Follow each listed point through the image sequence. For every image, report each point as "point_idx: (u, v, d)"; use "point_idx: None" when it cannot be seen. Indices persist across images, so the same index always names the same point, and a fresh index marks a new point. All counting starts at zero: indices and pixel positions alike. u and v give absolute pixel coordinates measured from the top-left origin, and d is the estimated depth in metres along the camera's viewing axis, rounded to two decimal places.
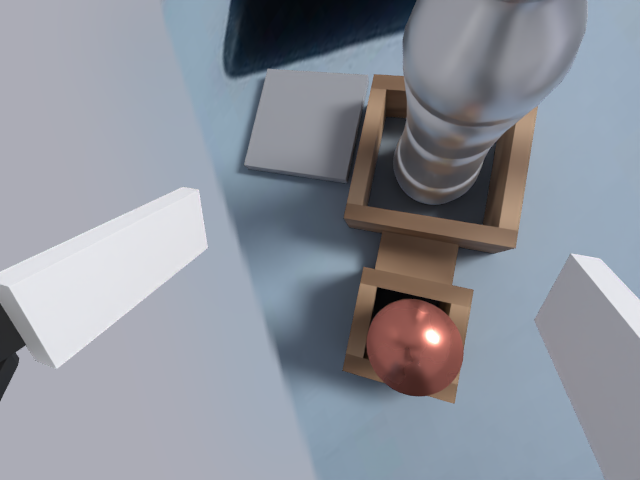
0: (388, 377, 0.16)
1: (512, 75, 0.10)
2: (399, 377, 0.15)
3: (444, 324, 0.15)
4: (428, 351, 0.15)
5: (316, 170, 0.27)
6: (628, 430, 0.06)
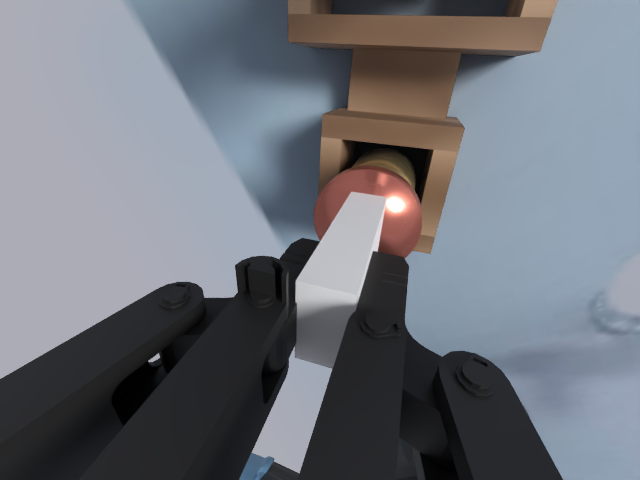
0: None
1: None
2: None
3: (400, 196, 0.12)
4: None
5: None
6: None
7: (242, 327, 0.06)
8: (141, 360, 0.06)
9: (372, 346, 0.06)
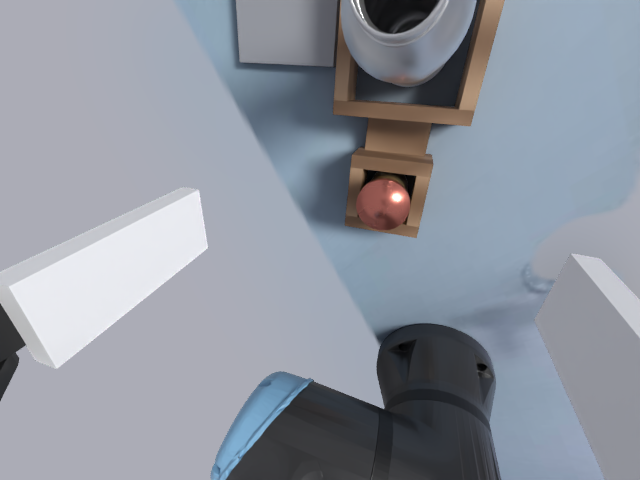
0: (369, 222, 0.28)
1: (410, 65, 0.14)
2: (375, 222, 0.28)
3: (399, 192, 0.26)
4: (390, 208, 0.27)
5: (305, 59, 0.29)
6: (628, 430, 0.06)
7: None
8: None
9: None
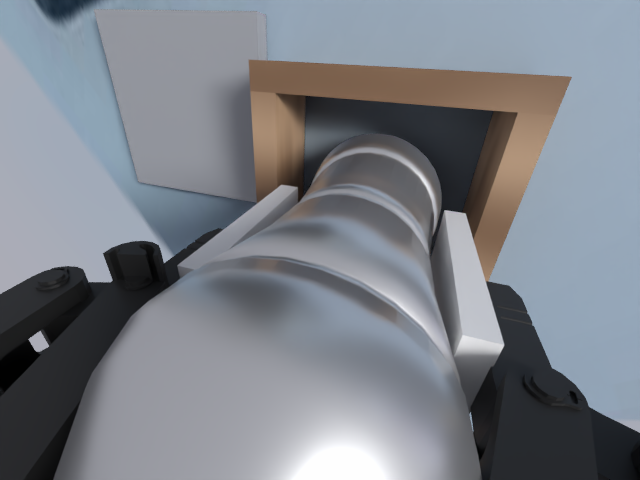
0: None
1: None
2: None
3: None
4: None
5: (225, 190, 0.20)
6: None
7: (117, 308, 0.06)
8: (22, 336, 0.06)
9: (545, 414, 0.05)
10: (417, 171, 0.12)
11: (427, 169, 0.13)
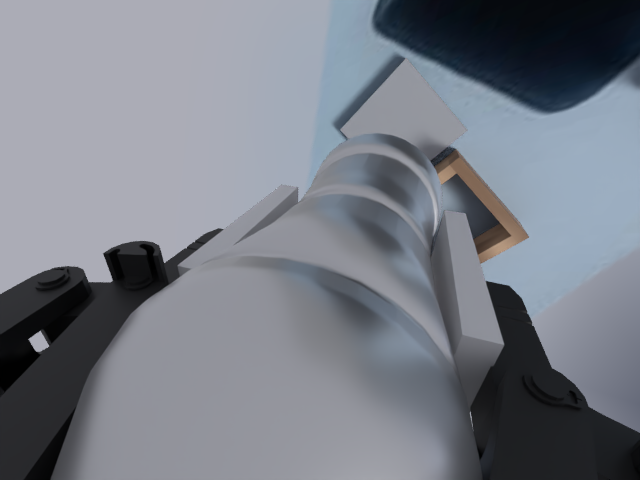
0: None
1: None
2: None
3: None
4: None
5: None
6: None
7: (117, 308, 0.06)
8: (22, 336, 0.06)
9: (545, 414, 0.05)
10: (418, 171, 0.12)
11: (428, 169, 0.13)
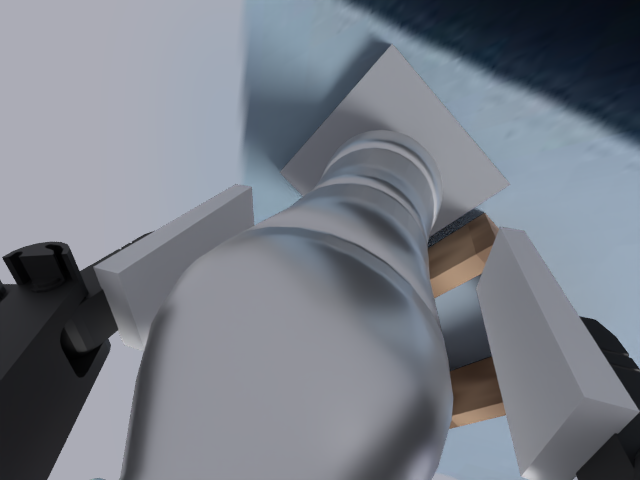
0: None
1: None
2: None
3: None
4: None
5: None
6: (517, 359, 0.07)
7: (25, 311, 0.06)
8: None
9: None
10: (418, 164, 0.13)
11: (428, 162, 0.14)
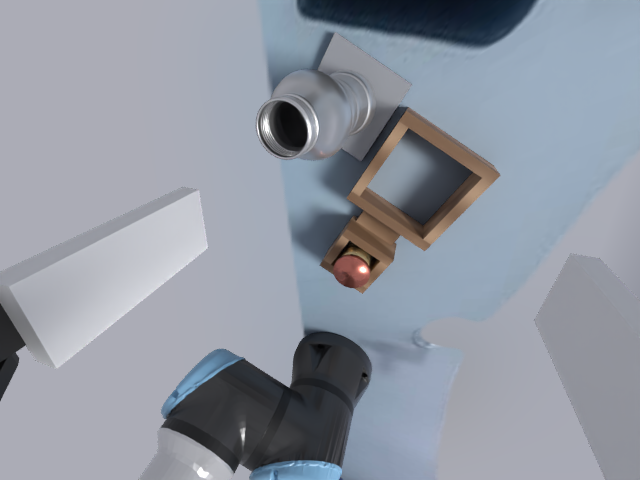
0: (338, 277, 0.40)
1: (320, 153, 0.23)
2: (341, 279, 0.40)
3: (365, 271, 0.38)
4: (355, 276, 0.39)
5: (344, 146, 0.38)
6: (628, 430, 0.06)
7: None
8: None
9: None
10: (354, 77, 0.30)
11: (360, 77, 0.30)
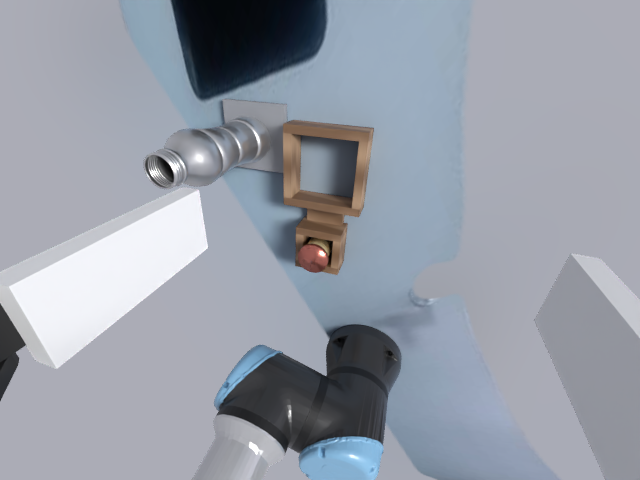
0: (306, 267, 0.48)
1: (204, 176, 0.33)
2: (309, 267, 0.47)
3: (320, 253, 0.46)
4: (316, 260, 0.46)
5: (268, 168, 0.48)
6: (628, 430, 0.06)
7: None
8: None
9: None
10: (236, 120, 0.41)
11: (242, 118, 0.42)
